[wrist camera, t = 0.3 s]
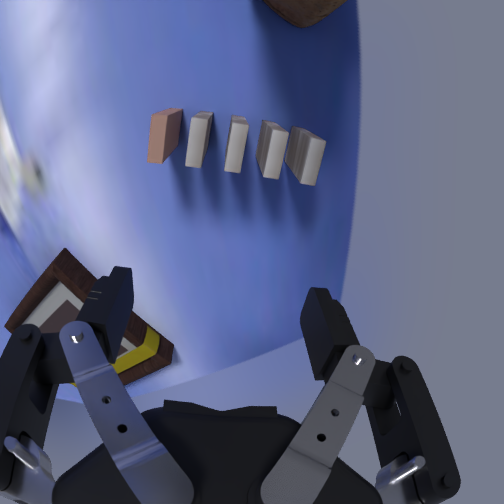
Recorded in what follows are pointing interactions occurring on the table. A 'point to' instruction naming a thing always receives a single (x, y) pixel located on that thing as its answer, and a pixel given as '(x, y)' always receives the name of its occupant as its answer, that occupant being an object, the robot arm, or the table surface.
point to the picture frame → (68, 307)
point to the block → (303, 10)
